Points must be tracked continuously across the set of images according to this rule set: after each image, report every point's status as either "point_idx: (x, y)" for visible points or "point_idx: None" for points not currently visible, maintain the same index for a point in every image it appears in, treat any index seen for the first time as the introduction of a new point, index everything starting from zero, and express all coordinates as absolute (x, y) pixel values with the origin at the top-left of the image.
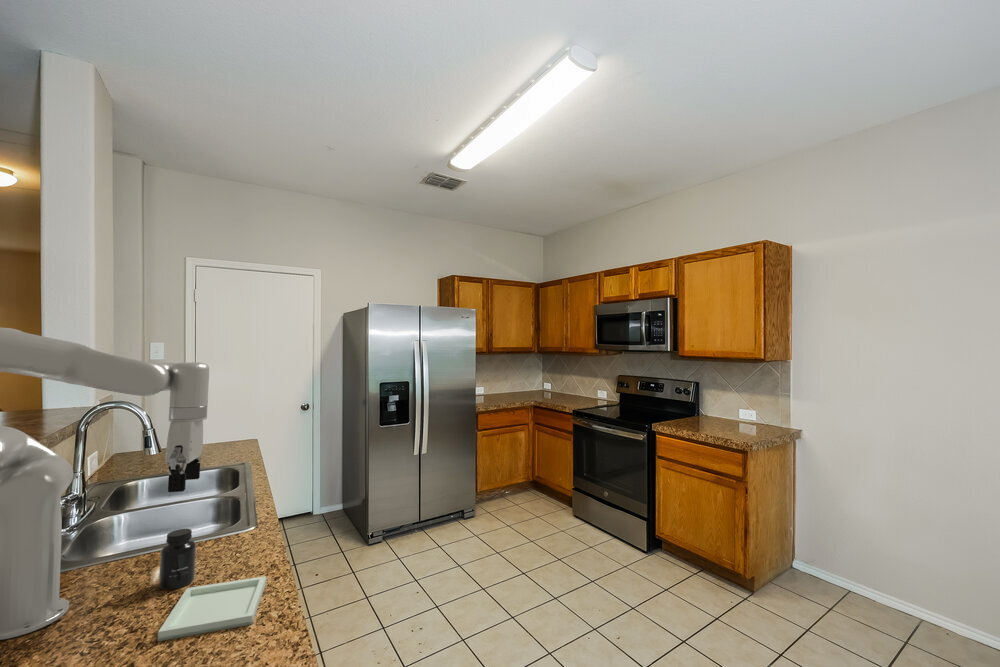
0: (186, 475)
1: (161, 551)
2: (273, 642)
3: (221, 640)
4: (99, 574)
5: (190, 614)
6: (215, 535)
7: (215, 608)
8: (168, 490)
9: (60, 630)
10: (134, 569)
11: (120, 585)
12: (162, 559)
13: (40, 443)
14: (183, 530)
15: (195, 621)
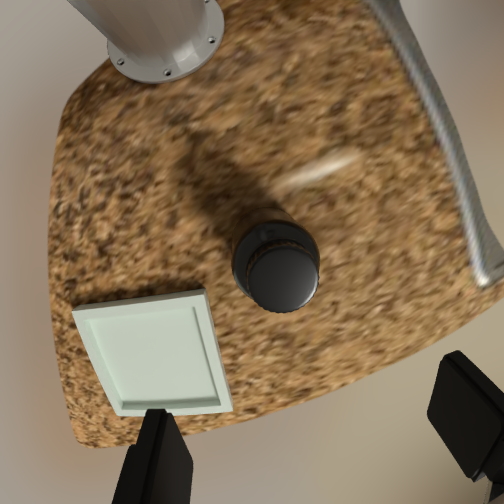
0: (454, 382)
1: (252, 228)
2: (93, 428)
3: (88, 382)
4: (338, 48)
5: (132, 328)
6: (474, 217)
7: (148, 359)
8: (146, 415)
9: (119, 115)
10: (352, 107)
11: (279, 115)
12: (239, 234)
13: None
14: (301, 284)
15: (114, 343)
